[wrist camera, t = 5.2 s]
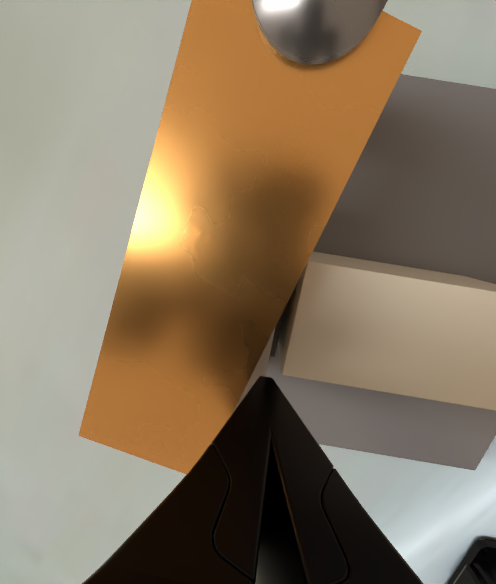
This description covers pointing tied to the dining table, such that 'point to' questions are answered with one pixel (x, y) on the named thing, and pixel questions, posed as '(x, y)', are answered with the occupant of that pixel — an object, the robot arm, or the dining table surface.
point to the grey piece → (410, 261)
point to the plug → (392, 330)
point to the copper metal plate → (235, 208)
